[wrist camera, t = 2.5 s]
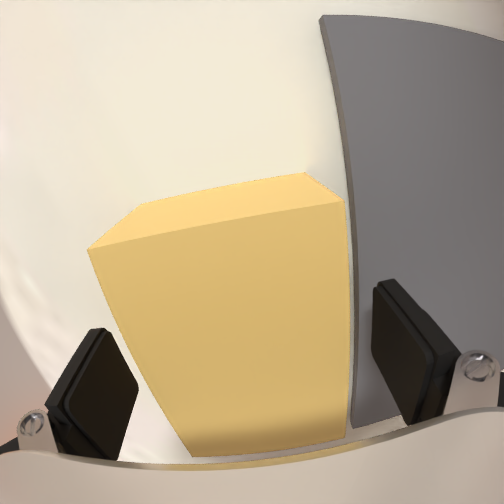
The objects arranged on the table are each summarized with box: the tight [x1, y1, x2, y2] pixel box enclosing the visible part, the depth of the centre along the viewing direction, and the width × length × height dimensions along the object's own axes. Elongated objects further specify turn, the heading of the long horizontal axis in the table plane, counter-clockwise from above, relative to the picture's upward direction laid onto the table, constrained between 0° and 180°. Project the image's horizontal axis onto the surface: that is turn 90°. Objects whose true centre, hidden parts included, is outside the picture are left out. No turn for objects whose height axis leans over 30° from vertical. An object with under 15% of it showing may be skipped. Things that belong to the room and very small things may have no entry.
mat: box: [319, 15, 504, 429], centre depth 11 cm, size 20×14×1 cm
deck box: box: [87, 172, 350, 457], centre depth 10 cm, size 9×6×4 cm, turn 10°
